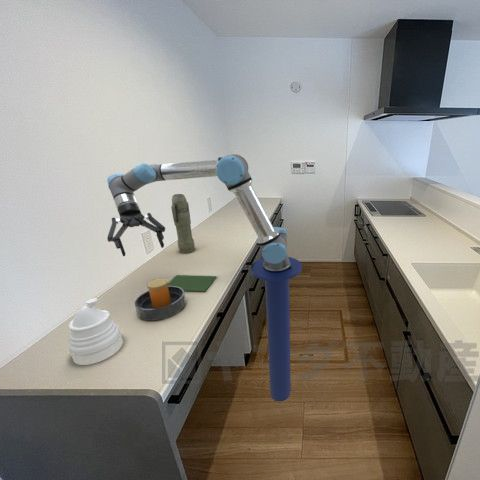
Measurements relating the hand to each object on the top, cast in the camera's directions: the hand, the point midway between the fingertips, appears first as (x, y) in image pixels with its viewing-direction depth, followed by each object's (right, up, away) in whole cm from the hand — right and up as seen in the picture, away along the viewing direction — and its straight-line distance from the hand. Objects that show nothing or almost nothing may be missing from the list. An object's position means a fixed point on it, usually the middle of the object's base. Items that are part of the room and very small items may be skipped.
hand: (144, 250), depth 107 cm
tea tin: (+7, -23, +1) cm, 24 cm away
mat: (+9, -17, +20) cm, 27 cm away
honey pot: (-1, -32, -20) cm, 38 cm away
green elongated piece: (-11, -3, +56) cm, 57 cm away
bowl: (+7, -24, +1) cm, 25 cm away
